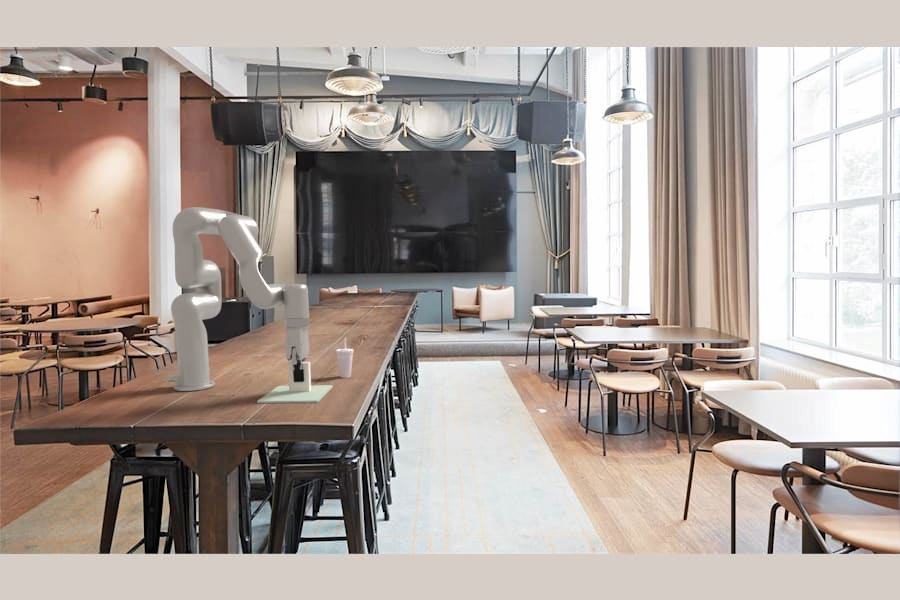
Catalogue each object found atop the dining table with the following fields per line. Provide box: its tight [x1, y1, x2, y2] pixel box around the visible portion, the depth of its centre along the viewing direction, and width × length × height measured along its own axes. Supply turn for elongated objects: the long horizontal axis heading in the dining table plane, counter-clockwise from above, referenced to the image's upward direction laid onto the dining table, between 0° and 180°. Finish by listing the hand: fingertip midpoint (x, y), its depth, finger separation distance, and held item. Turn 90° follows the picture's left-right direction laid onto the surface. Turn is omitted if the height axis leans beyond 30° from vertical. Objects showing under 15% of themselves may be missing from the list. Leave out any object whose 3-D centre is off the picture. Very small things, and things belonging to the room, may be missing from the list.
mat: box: [256, 384, 333, 404], centre depth 182 cm, size 18×20×1 cm
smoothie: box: [335, 337, 354, 379], centre depth 207 cm, size 6×6×14 cm
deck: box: [287, 361, 312, 392], centre depth 184 cm, size 6×2×9 cm, turn 89°
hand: (300, 380), depth 184 cm, fingers closed on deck, 2 cm apart
